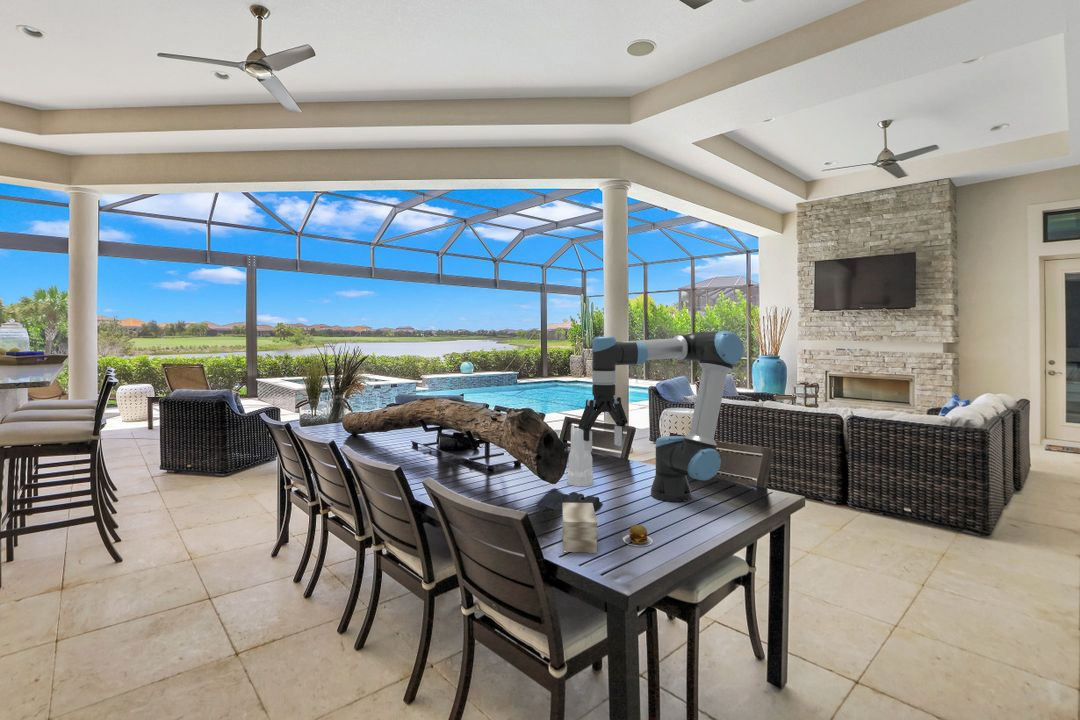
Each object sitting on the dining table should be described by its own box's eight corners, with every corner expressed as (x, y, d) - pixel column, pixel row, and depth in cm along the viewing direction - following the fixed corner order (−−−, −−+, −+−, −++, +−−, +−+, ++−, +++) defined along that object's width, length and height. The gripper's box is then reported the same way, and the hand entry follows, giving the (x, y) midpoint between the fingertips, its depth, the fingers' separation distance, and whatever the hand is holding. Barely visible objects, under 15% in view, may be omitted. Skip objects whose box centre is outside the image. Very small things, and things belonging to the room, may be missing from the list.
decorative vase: (568, 478, 220) (568, 421, 219) (593, 479, 218) (593, 422, 217) (566, 486, 209) (566, 425, 208) (592, 487, 207) (592, 426, 206)
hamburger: (613, 536, 157) (613, 518, 157) (651, 535, 158) (651, 517, 158) (622, 552, 145) (623, 533, 145) (663, 551, 146) (664, 532, 146)
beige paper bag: (592, 530, 160) (592, 502, 160) (597, 552, 143) (597, 522, 143) (562, 530, 160) (562, 502, 160) (563, 552, 143) (563, 521, 143)
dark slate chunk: (555, 496, 197) (555, 484, 197) (606, 506, 184) (606, 493, 184) (533, 506, 184) (532, 493, 184) (585, 518, 172) (585, 505, 172)
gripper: (621, 381, 176) (621, 441, 177) (567, 384, 161) (567, 451, 162) (638, 382, 170) (638, 445, 171) (583, 386, 155) (583, 455, 156)
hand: (603, 448), depth 166 cm, fingers open, 13 cm apart
